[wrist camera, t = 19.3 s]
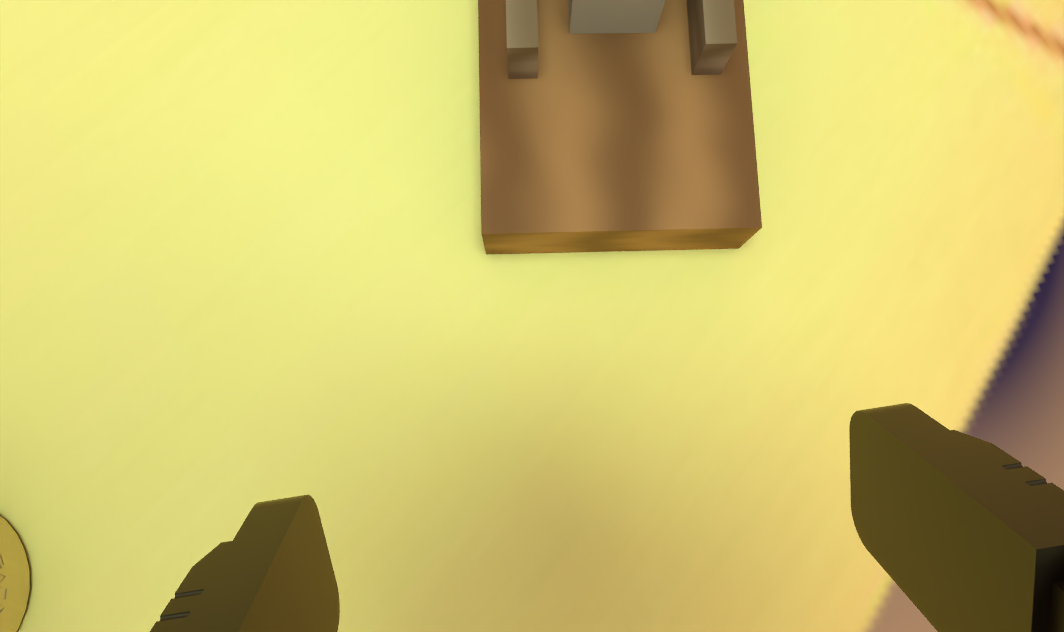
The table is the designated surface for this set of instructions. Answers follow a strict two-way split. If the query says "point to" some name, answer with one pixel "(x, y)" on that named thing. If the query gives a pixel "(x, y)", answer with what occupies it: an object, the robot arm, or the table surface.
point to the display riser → (615, 131)
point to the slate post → (614, 16)
